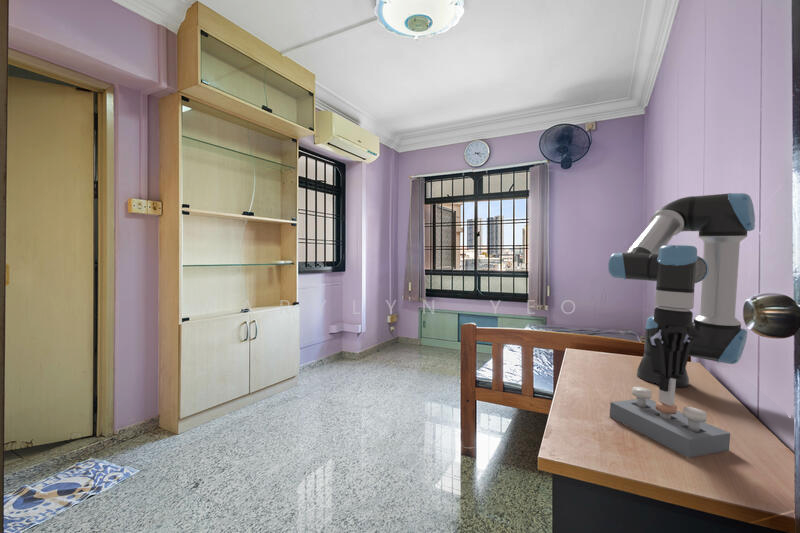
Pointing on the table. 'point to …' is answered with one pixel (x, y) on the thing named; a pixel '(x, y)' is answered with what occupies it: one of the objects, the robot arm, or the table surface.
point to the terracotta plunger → (666, 410)
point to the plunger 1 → (641, 396)
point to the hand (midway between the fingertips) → (666, 403)
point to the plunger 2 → (694, 418)
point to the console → (670, 429)
